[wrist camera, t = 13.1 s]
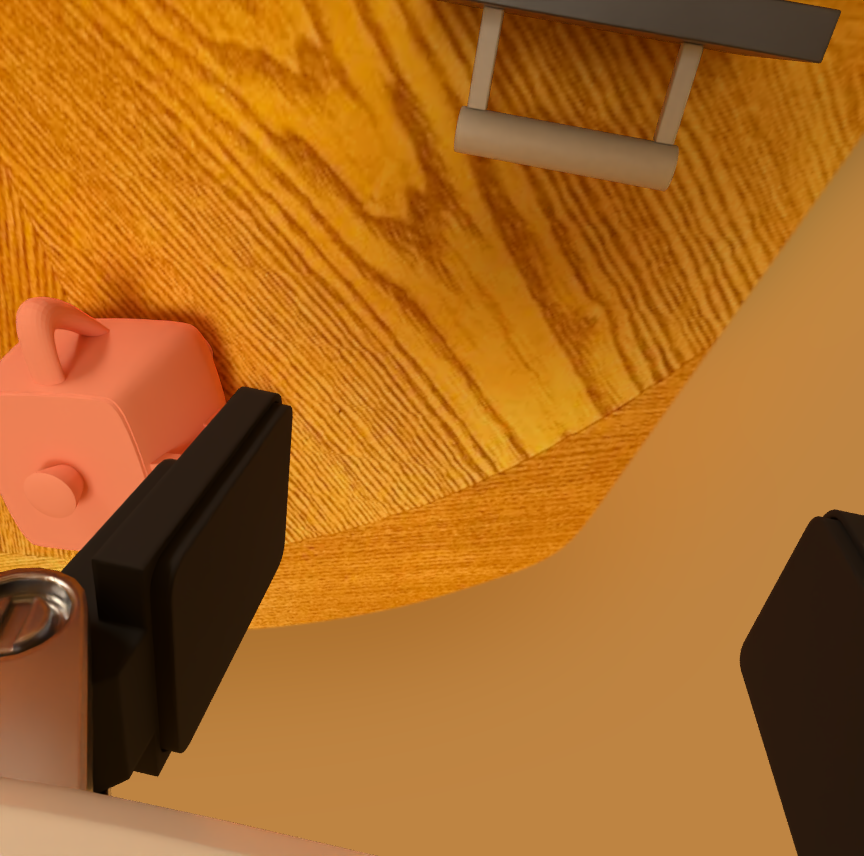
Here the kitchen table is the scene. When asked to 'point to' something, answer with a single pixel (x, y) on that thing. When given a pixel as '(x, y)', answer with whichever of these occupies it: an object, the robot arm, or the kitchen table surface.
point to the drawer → (694, 29)
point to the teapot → (94, 414)
